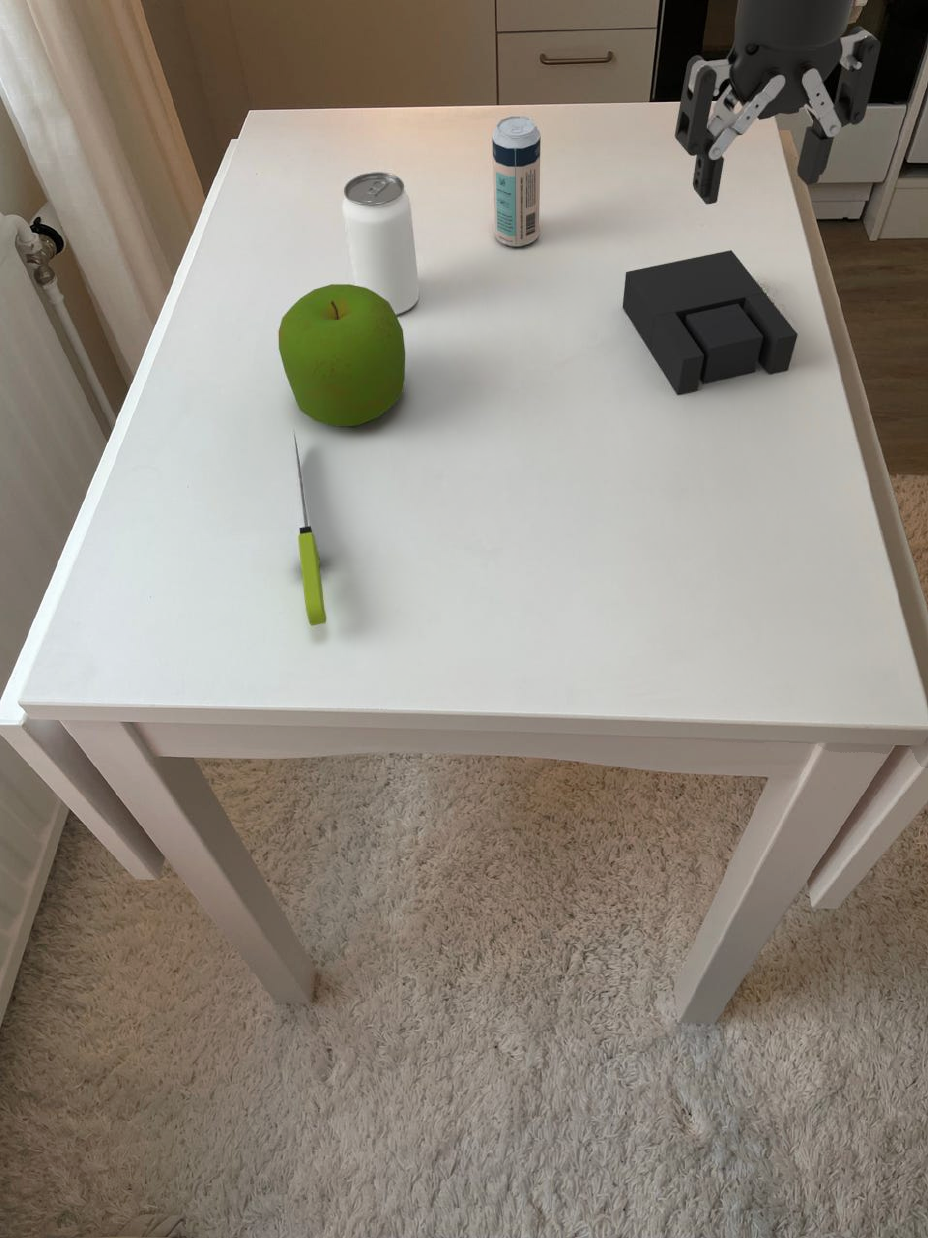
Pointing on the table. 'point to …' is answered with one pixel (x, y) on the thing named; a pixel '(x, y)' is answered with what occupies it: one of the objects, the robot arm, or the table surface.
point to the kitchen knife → (310, 565)
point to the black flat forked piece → (696, 287)
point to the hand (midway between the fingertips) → (757, 188)
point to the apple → (343, 354)
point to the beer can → (516, 180)
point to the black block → (725, 342)
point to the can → (381, 238)
